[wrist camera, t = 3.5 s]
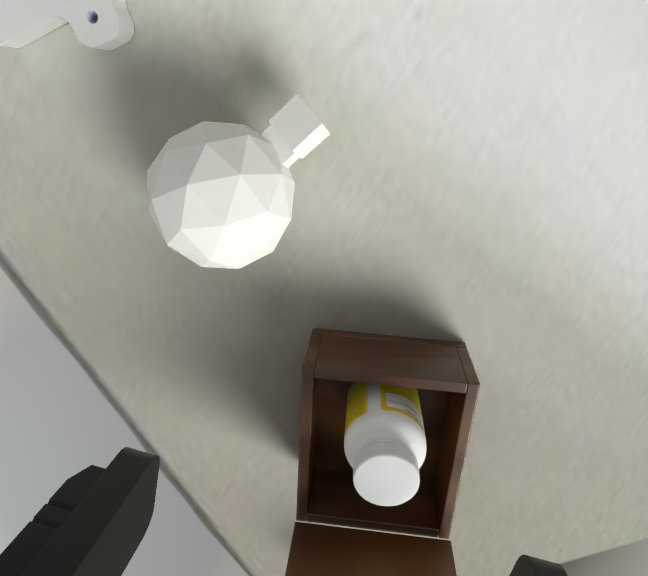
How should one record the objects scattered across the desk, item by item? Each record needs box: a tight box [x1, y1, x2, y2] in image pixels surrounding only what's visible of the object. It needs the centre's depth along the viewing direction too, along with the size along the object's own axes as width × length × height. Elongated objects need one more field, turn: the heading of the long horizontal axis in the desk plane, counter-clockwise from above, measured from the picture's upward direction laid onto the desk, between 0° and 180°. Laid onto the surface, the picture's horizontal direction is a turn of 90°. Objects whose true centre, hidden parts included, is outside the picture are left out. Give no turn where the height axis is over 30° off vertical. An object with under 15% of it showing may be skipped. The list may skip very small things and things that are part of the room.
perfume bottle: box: [147, 94, 330, 269], centre depth 29 cm, size 9×9×12 cm
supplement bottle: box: [344, 382, 427, 506], centre depth 33 cm, size 5×5×10 cm
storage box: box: [296, 329, 480, 539], centre depth 37 cm, size 14×12×6 cm
